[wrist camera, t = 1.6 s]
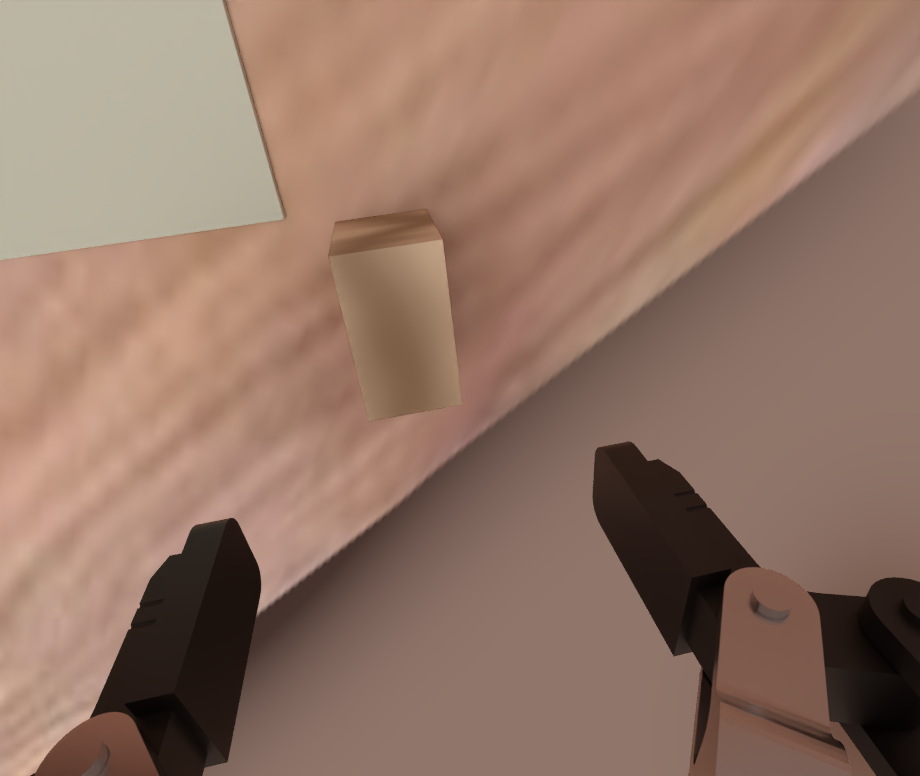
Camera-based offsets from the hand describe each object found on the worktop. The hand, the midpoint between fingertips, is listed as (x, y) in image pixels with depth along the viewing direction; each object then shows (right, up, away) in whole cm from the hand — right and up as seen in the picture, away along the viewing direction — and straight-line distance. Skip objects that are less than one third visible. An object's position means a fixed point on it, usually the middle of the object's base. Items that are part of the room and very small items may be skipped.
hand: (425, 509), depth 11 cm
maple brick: (-2, +7, +13) cm, 15 cm away
